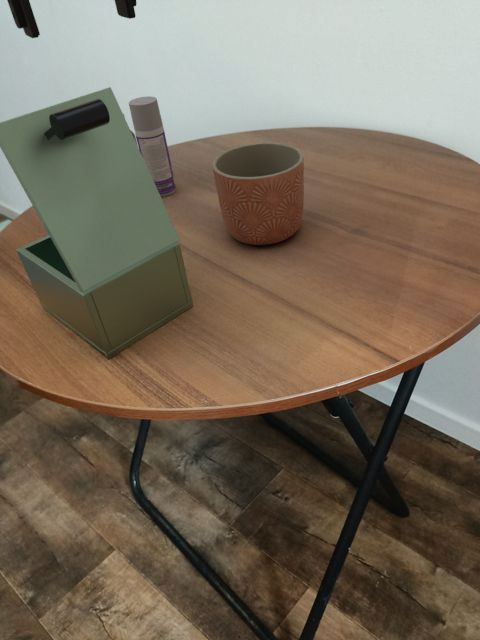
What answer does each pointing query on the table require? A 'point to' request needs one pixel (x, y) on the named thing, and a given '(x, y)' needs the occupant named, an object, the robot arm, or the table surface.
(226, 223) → the planter
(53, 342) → the table surface
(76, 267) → the green box lid
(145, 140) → the container
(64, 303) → the box base
